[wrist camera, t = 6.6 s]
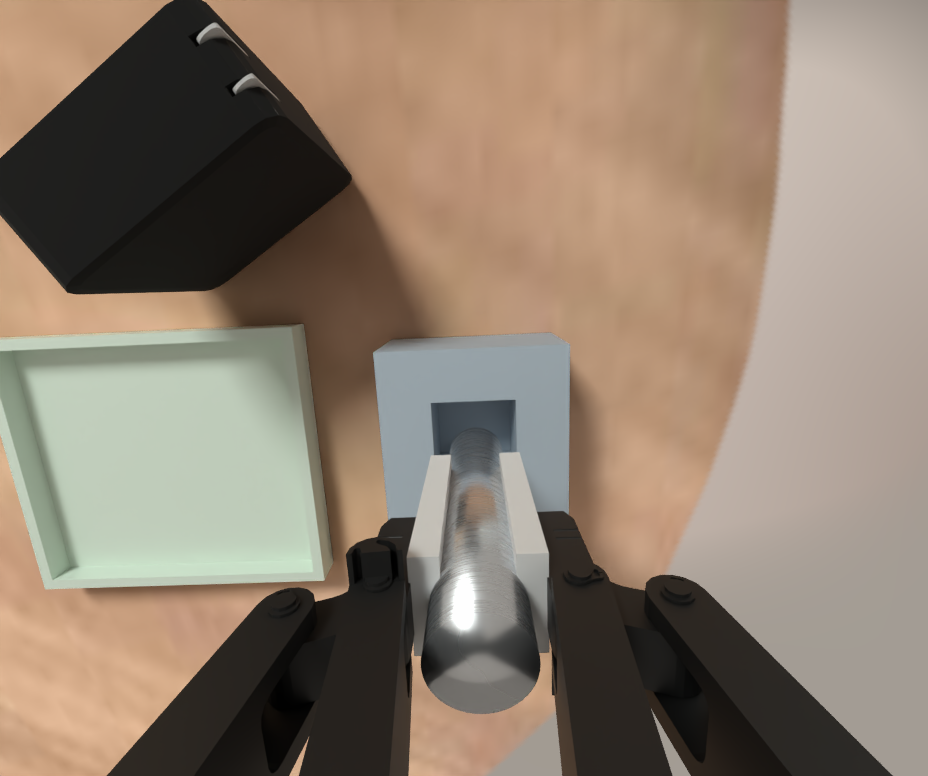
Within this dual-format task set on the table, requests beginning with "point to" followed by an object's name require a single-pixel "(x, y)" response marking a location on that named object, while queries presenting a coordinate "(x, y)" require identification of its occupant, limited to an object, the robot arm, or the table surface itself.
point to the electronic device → (167, 164)
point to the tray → (166, 456)
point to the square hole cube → (474, 408)
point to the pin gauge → (478, 592)
